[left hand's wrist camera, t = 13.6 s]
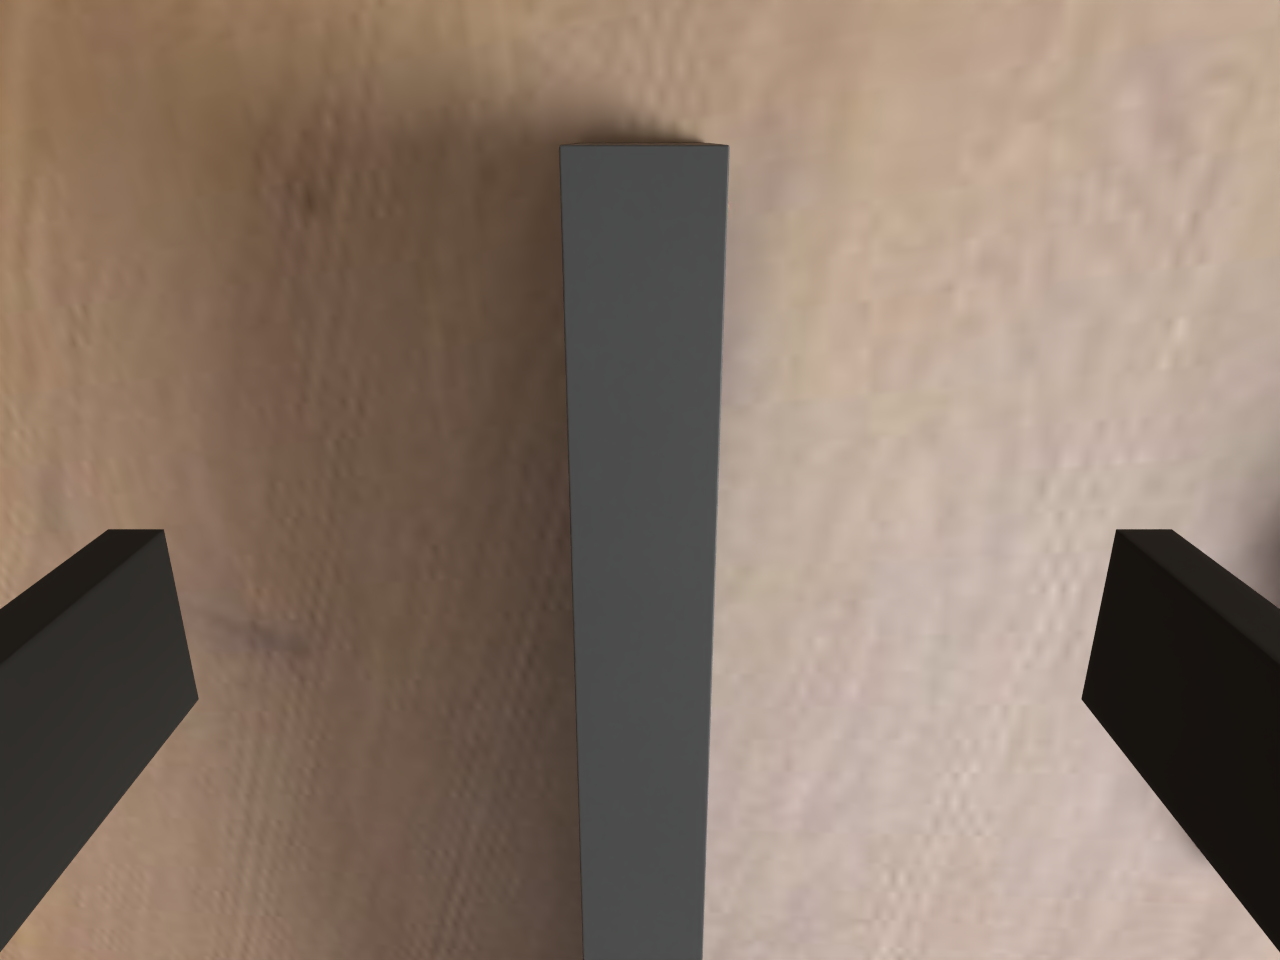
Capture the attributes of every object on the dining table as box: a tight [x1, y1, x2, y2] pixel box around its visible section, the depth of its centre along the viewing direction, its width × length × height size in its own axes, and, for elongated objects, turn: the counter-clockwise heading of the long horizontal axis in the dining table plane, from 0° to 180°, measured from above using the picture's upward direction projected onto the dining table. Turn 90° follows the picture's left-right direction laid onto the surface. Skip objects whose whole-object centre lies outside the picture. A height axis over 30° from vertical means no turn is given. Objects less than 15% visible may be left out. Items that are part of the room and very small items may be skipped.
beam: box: [559, 143, 729, 960], centre depth 40 cm, size 62×5×8 cm, turn 0°
